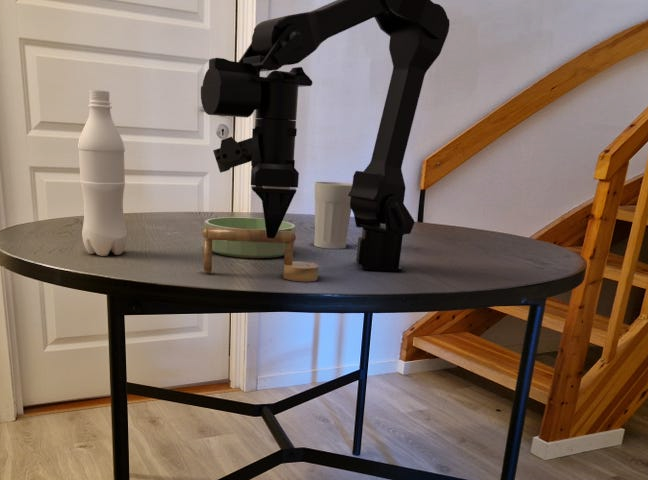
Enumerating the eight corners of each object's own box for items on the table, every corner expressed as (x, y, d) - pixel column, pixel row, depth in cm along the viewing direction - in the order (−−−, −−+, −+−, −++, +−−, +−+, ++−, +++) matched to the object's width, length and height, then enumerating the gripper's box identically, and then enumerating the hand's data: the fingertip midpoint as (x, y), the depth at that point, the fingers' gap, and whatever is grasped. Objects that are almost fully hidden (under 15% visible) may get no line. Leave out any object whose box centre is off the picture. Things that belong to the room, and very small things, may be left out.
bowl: (290, 245, 120) (292, 219, 119) (295, 261, 105) (297, 232, 104) (208, 241, 120) (208, 215, 118) (201, 256, 105) (201, 227, 103)
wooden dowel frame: (200, 277, 90) (200, 229, 88) (203, 269, 95) (203, 224, 93) (319, 282, 91) (322, 235, 88) (315, 275, 96) (319, 230, 93)
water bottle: (73, 252, 102) (64, 88, 93) (105, 247, 108) (100, 92, 99) (105, 259, 98) (98, 89, 90) (136, 253, 104) (133, 93, 96)
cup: (336, 251, 117) (342, 185, 113) (302, 245, 122) (306, 182, 118) (357, 246, 123) (363, 184, 119) (323, 241, 128) (328, 181, 124)
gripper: (221, 118, 94) (219, 222, 99) (213, 114, 76) (211, 240, 82) (293, 122, 94) (287, 225, 100) (302, 119, 77) (294, 244, 82)
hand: (270, 233), depth 91 cm, fingers open, 9 cm apart
